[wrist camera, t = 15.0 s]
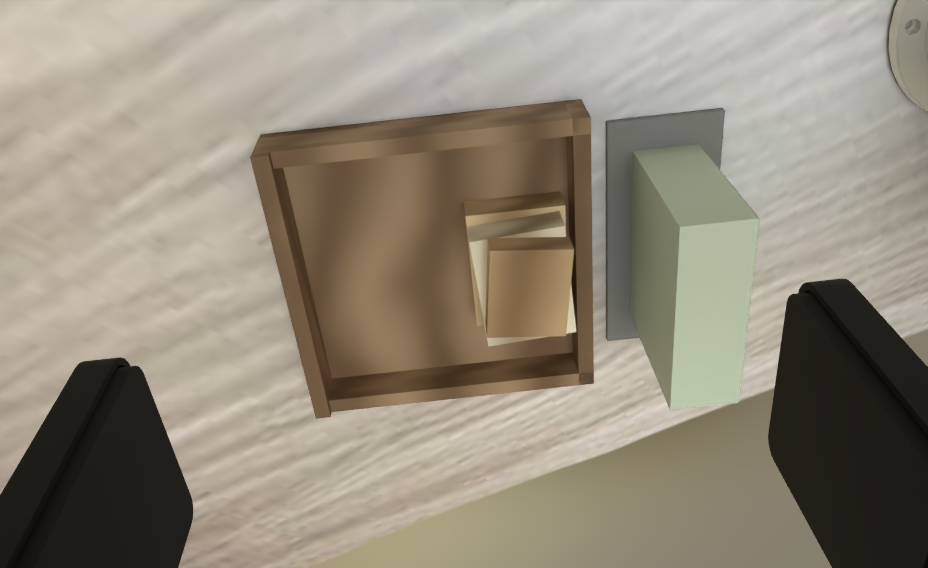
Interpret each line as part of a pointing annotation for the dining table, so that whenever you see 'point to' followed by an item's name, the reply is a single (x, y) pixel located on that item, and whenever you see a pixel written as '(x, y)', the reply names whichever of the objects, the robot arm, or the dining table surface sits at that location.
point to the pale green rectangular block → (691, 274)
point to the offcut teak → (528, 286)
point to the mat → (619, 180)
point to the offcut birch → (513, 228)
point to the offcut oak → (507, 210)
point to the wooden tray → (419, 250)
